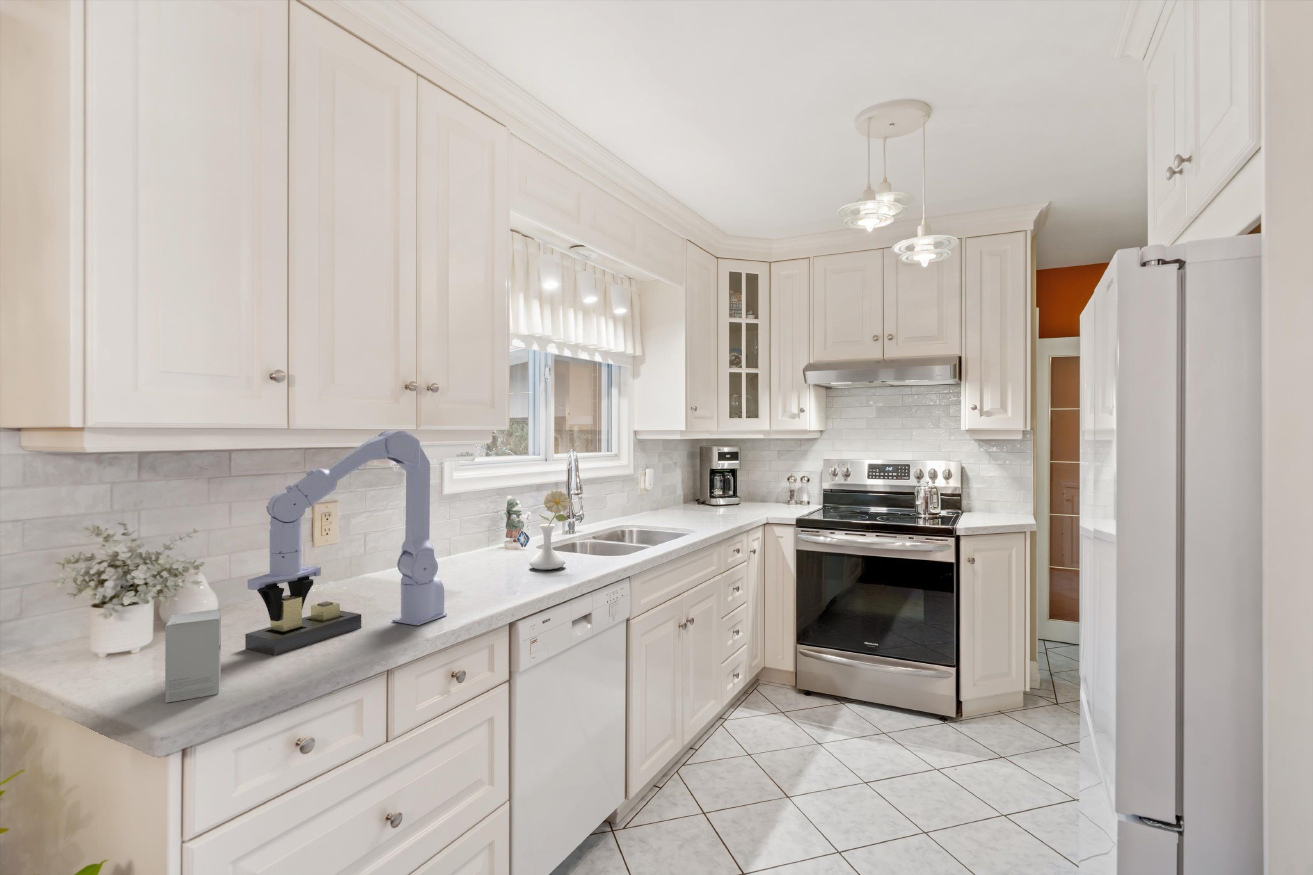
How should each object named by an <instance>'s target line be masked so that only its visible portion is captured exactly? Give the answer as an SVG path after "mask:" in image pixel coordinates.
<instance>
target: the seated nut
mask: <svg viewBox="0 0 1313 875" xmlns="http://www.w3.org/2000/svg"><path fill="white" fill-rule="evenodd" d="M340 606H341V603H339V602H335V601H328V600H326V601H322V602H318V603H316V604H312V605H310V616H311V621H314V622H320V623H325V622H328V621H331V620H335V619H338V618H340V609H341V607H340Z"/></svg>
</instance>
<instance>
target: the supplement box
mask: <svg viewBox="0 0 1313 875" xmlns="http://www.w3.org/2000/svg"><path fill="white" fill-rule="evenodd" d="M221 614H222V613H221V609H218V608H217V609H210V610H209V609H208V610H202V611H192V612H185V613H177V614H172V615H169V618H168V620H167V621H166V624H165V630H164V632H165V638H164V639H165V641H164V642H165V643H164V644H165V646H164V647H165V648H164V649H165V654H164V655H165V658H164V660H165V661H164V662H165V663H164V664H165V665H164V666H165V670H164V671H165V672H164V673H165V676H164V678H165V682H164V683H165V684H164V686H165V688H164V691H165V693H164V694H165V697H164V699H165V700H164V703H173V702H180V701H185V700H191V699H197V698H203V697H210V696H215V695H219V693H220V683H221V675H222V674H221V671H222V670H221V668H222V667H221V665H222V661H221V659H222V657H221V656H222V652H221V651H222V648H221V647H222V645H221V643H222V632H221V631H222V615H221Z"/></svg>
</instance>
